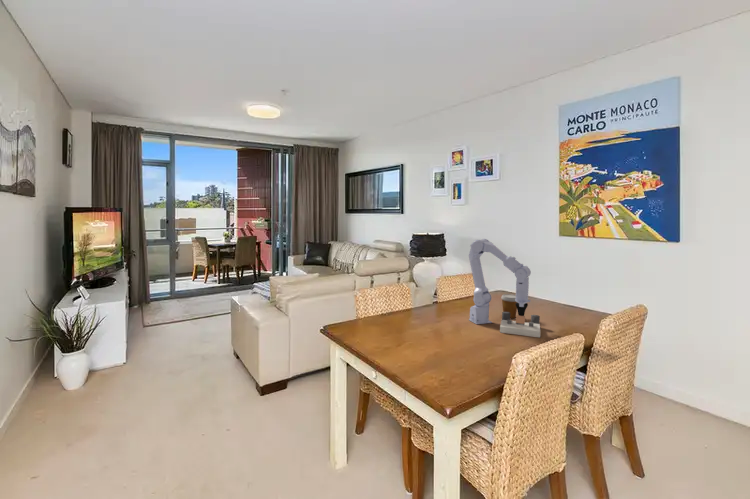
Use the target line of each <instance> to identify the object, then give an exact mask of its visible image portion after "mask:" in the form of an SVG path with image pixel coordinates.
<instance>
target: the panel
mask: <svg viewBox="0 0 750 499" xmlns="http://www.w3.org/2000/svg"><path fill="white" fill-rule="evenodd" d="M540 325H541V324H540V323H539V324H535V323H533V322H531V321H529V322H526V321H525V325H520V324H516V320H512V319H510V320H502V319H501V321H500V325H499V333H501V334H502V333H503V334H509V335H510V334H511V335H519V336H525V337H534V338H541V326H540Z"/></svg>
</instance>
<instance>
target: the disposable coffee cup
mask: <svg viewBox="0 0 750 499" xmlns="http://www.w3.org/2000/svg"><path fill="white" fill-rule="evenodd" d="M500 298H501V304H502V305H501V306H502V312H510V320H512V319H516V315H517V312H518V310H517V307H516V303H518V302H516V301H515V299H516V294H511V293H508V294H507V293H504V294H502V295H501V297H500Z"/></svg>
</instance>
